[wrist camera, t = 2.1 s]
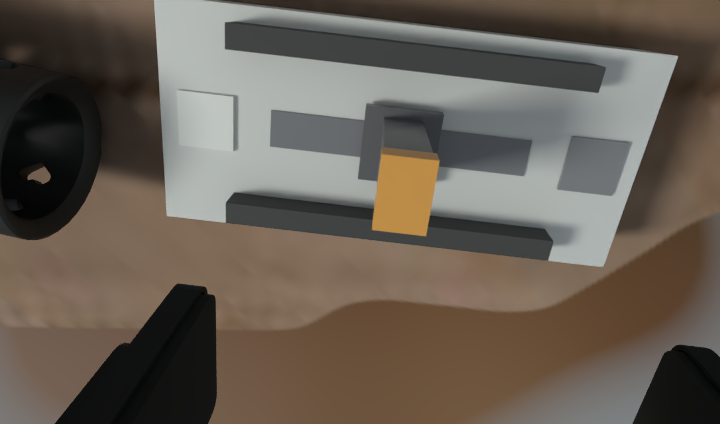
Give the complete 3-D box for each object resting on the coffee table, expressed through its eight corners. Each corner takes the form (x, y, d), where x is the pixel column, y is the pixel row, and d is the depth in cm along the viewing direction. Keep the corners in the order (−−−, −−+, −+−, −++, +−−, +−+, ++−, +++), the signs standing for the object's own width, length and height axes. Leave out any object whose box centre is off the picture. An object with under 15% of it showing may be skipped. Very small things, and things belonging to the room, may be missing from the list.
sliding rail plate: (234, 21, 24) (224, 22, 22) (592, 63, 24) (606, 67, 22) (234, 211, 28) (225, 222, 27) (539, 247, 28) (548, 260, 27)
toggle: (366, 103, 25) (359, 141, 18) (442, 111, 25) (465, 153, 18) (358, 175, 27) (348, 236, 20) (430, 183, 27) (446, 247, 20)
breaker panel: (184, -5, 27) (152, -6, 23) (638, 49, 27) (680, 56, 23) (191, 191, 32) (165, 217, 28) (578, 237, 32) (604, 268, 28)
